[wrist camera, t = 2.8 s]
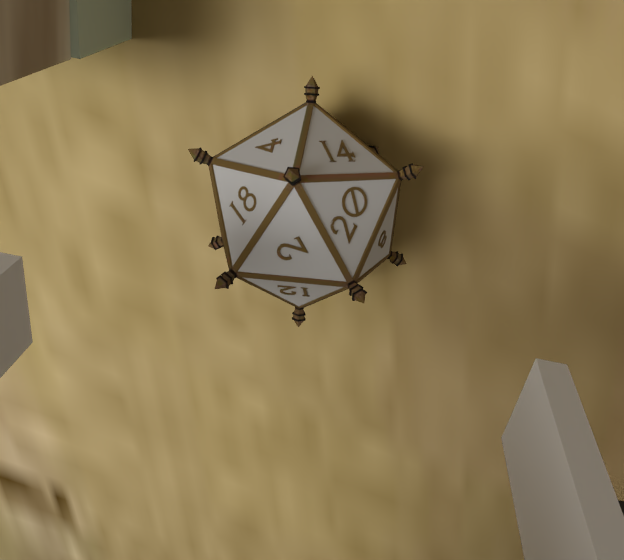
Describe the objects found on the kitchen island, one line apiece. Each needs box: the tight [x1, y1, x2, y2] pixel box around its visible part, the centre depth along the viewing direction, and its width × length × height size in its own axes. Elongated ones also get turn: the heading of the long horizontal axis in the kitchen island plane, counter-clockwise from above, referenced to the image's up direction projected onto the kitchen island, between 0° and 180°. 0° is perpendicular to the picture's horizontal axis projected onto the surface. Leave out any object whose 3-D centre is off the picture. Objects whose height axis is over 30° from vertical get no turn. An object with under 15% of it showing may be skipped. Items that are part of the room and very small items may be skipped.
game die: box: [188, 76, 423, 327], centre depth 23 cm, size 9×8×10 cm
